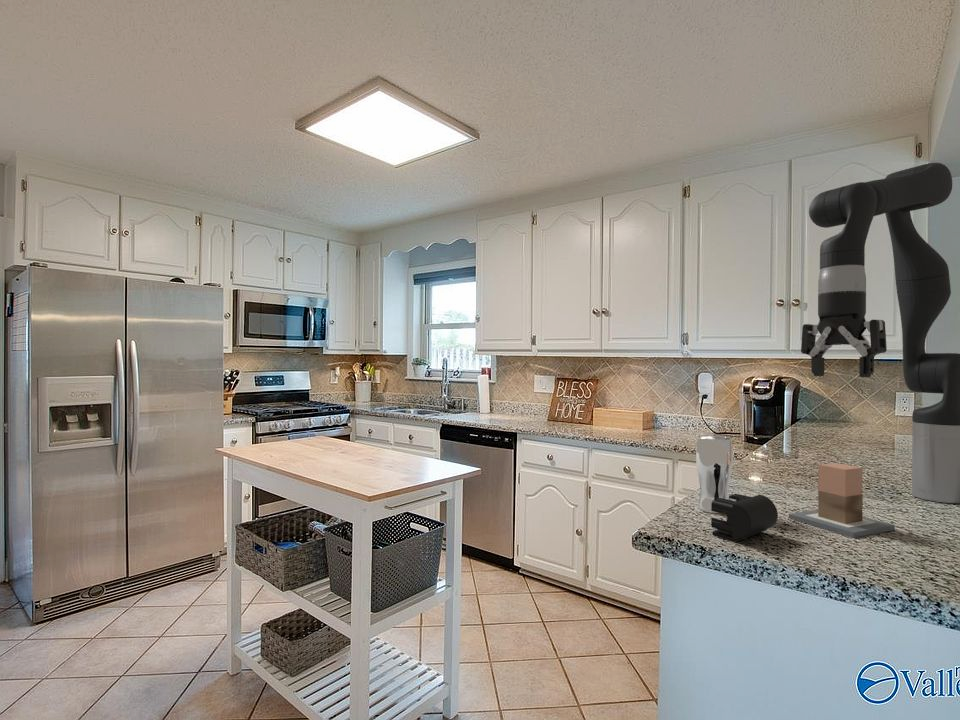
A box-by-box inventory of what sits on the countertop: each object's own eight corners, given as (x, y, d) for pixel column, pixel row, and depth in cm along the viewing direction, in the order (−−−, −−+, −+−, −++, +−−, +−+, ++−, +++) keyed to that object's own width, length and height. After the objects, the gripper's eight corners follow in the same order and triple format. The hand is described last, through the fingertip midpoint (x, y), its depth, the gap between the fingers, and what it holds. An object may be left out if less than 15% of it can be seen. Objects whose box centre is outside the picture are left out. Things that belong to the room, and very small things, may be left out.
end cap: (750, 547, 85) (750, 506, 85) (709, 535, 91) (710, 497, 91) (778, 536, 91) (778, 497, 91) (738, 525, 97) (738, 489, 97)
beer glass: (736, 515, 103) (737, 440, 103) (699, 513, 104) (700, 439, 105) (727, 506, 110) (727, 435, 110) (692, 504, 111) (693, 434, 111)
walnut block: (835, 513, 102) (835, 488, 102) (862, 521, 97) (862, 494, 97) (818, 516, 100) (818, 490, 100) (845, 524, 95) (845, 496, 95)
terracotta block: (835, 488, 102) (835, 462, 102) (862, 494, 97) (862, 467, 97) (818, 490, 100) (818, 464, 100) (845, 496, 95) (845, 469, 95)
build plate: (828, 512, 106) (828, 507, 106) (894, 529, 95) (894, 524, 95) (788, 518, 101) (788, 513, 101) (853, 537, 90) (853, 532, 90)
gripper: (895, 288, 93) (895, 377, 93) (817, 297, 107) (817, 375, 106) (869, 285, 90) (869, 378, 90) (792, 295, 104) (792, 375, 104)
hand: (841, 376), depth 98 cm, fingers open, 8 cm apart
